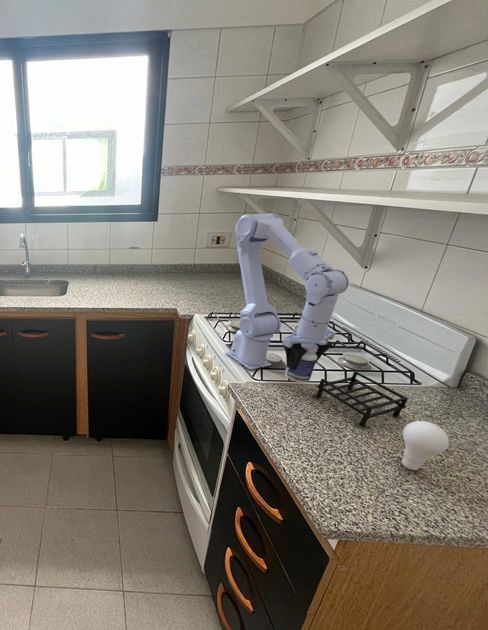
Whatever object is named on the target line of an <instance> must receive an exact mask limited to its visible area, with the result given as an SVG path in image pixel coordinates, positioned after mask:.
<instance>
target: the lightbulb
mask: <svg viewBox="0 0 488 630" xmlns="http://www.w3.org/2000/svg"><path fill="white" fill-rule="evenodd" d="M402 437H403V441H404V447H405V448H404V451H403V457H402V459H401V463H402V465H403V466H404V467H405V468H406V469H408V470H412V471H418V470H419V469H420V468H421V467H422V465H424V464H425V463H426V462H427V461H428V460H429V459H430V458H431V457H433V456H437V455H439V454H442V453H444V452H445V451H446V450H447V449H448V447H449V445H450V440H449V437H448V434H447V433H446V431H445V430H444V429H442V428H441V427H440V426H439V425H437V424H435V423H432V422H430V421H424V420H415V421H412V422H409V423H408V424H407V425H405V426H404V428H403V430H402Z"/></svg>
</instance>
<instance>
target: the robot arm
mask: <svg viewBox="0 0 488 630" xmlns="http://www.w3.org/2000/svg"><path fill="white" fill-rule="evenodd" d="M284 225H285V224H284V220H283V219H282V218H280V216H279V215H278V214H277V213H275V212H268V213H259V214H258V213H257V214H248V213H247V214H246V213H245V214H244V215H242V216H241V217H240V218H239V219H238V221H237V223H236V225H235V228H234V229H235V236H236V241H237V243H236V244H237V245H236V246H237V247H236V248H237V254H238V262H239V268H240V273H241V280H242V285H243V292H244V298H245V304H246V306H244V308H243V309H242V310H241V311H240V312H239V319H240V320H239V324H238V326H239V330H238V331H236V333H235V334H234V336H233V340H232V345H231V349H230V352H228V353H227V355H228V356H230V358H232V359H234V360H235V361H236V362H237V363H239V364H241V365H242V366H244V367H245V368H246V369H248V370H250V371H251V370H257V369H261V368H260V367H262V368H266V367H270V366H272V363H271V362H270V361H268V360H266V358H267V354H268V351H269V347H270V343H271V340H272V338H274V335H275V334H277V333H278V332H279V331H280V330H281V326H282V323H281V319H280V317H279V315H278V314H277V311H276V310H277V309H276V308H275V307H274V306H273V305H271V303H269V302H268V296H267V290H266V285H265V284H266V283H265V278H264V272H263V267H262V260H261V255H260V249H261V248H262V246H263V245H264V244H265V243H267V242H268V241H269V240H270V241H271V242H272V243H273V244H274V245H275V246H277V247H278V249H279V250H281V251H282V252H283V253H284V254H285V255H286V256H288V258H289V260H288V265H289V266H290V267H291V268H292V269H293V270H294V271H295V273H297V275H299V277H300V278H301V279H302V281H304V288H305V291H306V295H305V304H304V307H303V310H302V313H301V316H300V320H299V323H298V327H297V329H296V330H295V331H294V332H292V333H291V334H289V335H287V336H284V337H283V339H282V343H281V345H282V346H283V349H284V351H285V357H286V358H285V359H286V366H287V367H288V368H290V369H291V370H295V369H296V368H297V366H298V364H299V362H300V360H301V358H302V357H303V355H304V354H305V353H306V352H307V351H308V350H306V349H304V348H302V346H301V344H302V343H315V344H316V345H317V346H318V350H317V352H315V353H316V355H317V360H316V363H315V365H316V364H317V362H318V361H319V360H320V358H321V357H322V356H323V355H324V354H325V353H326V352H327V351H329V350H330V349H331V348H333V342H331V341H329V340H334V339H335V336H336V332H335V331H333V330H331V329H328V327H329V324H330V322H331V318H332V315H333V312H334V310H335V307H336V305H337V301H338V298H339V295H341V294H342V293H344V292H345V291H347V289H348V287H349V284H350V281H349V277H348V275H347V274H346V272H345V271H344V270H341V269H337V268H336V269H334V268H333V267H332V265H330V264H328V263H327V262H326V261H325V260H323V258H322V257H320V255H319V252H318V251H317V250H316V249H312V248H311V247H305V248H304V247H303V246H302V245H301V244H300V243H299V242H298V240H297V239H296V238H295V237H294V235H292V234H291V233H290V231H289V230H288V229H287V227H286V226H284Z"/></svg>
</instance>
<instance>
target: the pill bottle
mask: <svg viewBox="0 0 488 630" xmlns="http://www.w3.org/2000/svg"><path fill="white" fill-rule="evenodd" d="M301 346H302V348H304V349H306V350H308V351H307V352H306V353H305V354H304V355H303V357H302V358H301V360H300V362H299V364H298V366H297V368H296V369H295V370H291V369H290V368H288V367H287V365H286V366H285V370H284V375H285V377H286V378H287V379H289V380H291V381H293V382H296V383H308V382H310V380H311V377H312V374H313V372H314V369H315V365H316V364H317V362H316V360H317V355H316V353H315V352H317V350H318V346H317V345H316V344H315V343H302V344H301ZM315 363H316V364H315Z"/></svg>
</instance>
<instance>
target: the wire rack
mask: <svg viewBox="0 0 488 630" xmlns="http://www.w3.org/2000/svg"><path fill="white" fill-rule="evenodd" d="M357 376H359V377H361V378H363V379H364V380H367V381H369V382H370V383H372V384H373V385H376V386H378V387H379V388H381V389H384V390H385V391H387V392H389V393H391V394H393V395H395V396H396V397H399V398H396V399H394V398H392V397H391V396H389V395H387V394H386V393H383V392H381V391H379V390H378V389H376V388H374V387H373V386H370V385H369V384H366V383H365V382H363V381H361V380H360V379H357ZM346 382H348V383H347V384H342V383H346ZM338 384H342V385H338ZM336 385H338V386H336ZM357 385H360V386H361V387H357V388H354V386H357ZM325 387H331V388H325ZM316 388H318V389H317V391H316V394H315V398H317V399H321V397H322V395H323V393H326V394H327V395H329V396H331V397H333V398H334V399H336V400H337V401H339V402H340V403H342V404H344V405H345V406H347V407H348V408H350V409H352V410H353V411H355V412H356V413H358V414H360V415H361V416H362V417H361V419H360V422H359V424H358V425H359V426H360V427H361V428H364V427H366V425H367V423H368V421H369V419H372V418H375V417H379V416H382V415H387V414H390V413H392V416H393V417H395V418H399V416H400V414H401V412H402V410H403V409H406V408H407V405H406V403H407V401H408V400H409V398H408V397H406V396H405V395H403V394H400V393H398V392H397V391H395V390H393V389H391V388H389V387H387V386H386V385H384V384H381V383H380V382H377V381H376V380H374V379H372V378H371V377H368V376H366V375H364V374H362V373H360V372H359V371H356V370H354V371H353V373H352V376H350V377H346V378H343V379H337V380H333V381H328V380H326V379H324V378H321V379H320V381H319V384H317V385H316ZM345 388H346V390H343V389H345ZM363 390H369V391H367V392H364V393H359V394H355V395H352V393H355V392H359V391H363ZM332 391H338V392H336V393H334V392H332ZM374 394H375V395H379V396H375V397H371V398H367V399H363V400H360V399H359V398H362V397H367V396H371V395H374ZM340 396H346V397H345V398H344V397H340ZM382 399H385V400H387V401H384V402H380V403H377V404H373V405H369V404H367V403H370V402H375V401H378V400H382ZM351 400H353V401H354V402H352V403H350V402H349V401H351ZM394 404H395V405H396V406H394V407H390V408H387V409H383V410H379V411H376V412H372V411H373V410H375V409H378V408H383V407H386V406H389V405H394ZM359 405H361V406H363V407H362V408H358V407H357V406H359Z"/></svg>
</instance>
